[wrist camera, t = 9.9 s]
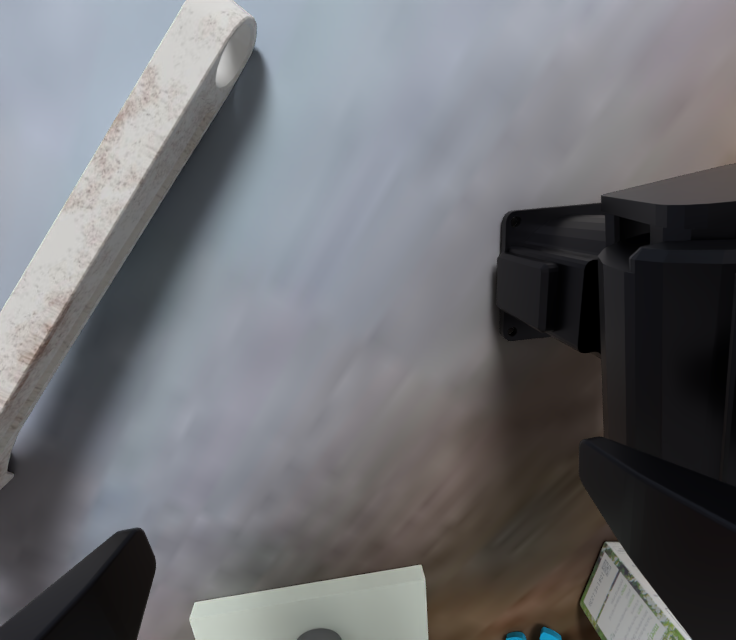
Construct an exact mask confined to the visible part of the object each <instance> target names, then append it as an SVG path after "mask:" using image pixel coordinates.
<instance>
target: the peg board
mask: <svg viewBox="0 0 736 640" xmlns="http://www.w3.org/2000/svg"><path fill="white" fill-rule="evenodd" d="M189 620H190V623H191V627H192V630H193V633H194V637H195V640H428V623H427V602H426V581H425V576H424V572H423V569H422V565H415V566H409V567H403V568H397V569H391V570H385V571H379V572H373V573H367V574H361V575H355V576H349V577H343V578H337V579H331V580H325V581H319V582H313V583H307V584H301V585H295V586H289V587H283V588H277V589H271V590H265V591H259V592H253V593H247V594H241V595H235V596H229V597H223V598H217V599H211V600H205V601H199V602H195V603H194V606H193V609H192V612H191V616H190V619H189Z"/></svg>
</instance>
